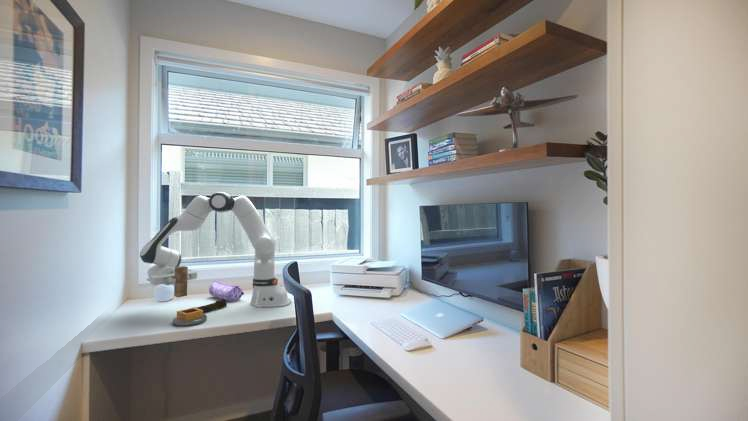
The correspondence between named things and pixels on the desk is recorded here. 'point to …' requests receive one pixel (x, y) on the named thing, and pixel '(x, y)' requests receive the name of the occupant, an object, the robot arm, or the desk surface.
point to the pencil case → (225, 291)
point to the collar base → (189, 317)
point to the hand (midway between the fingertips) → (181, 279)
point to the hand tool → (214, 305)
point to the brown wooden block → (181, 281)
